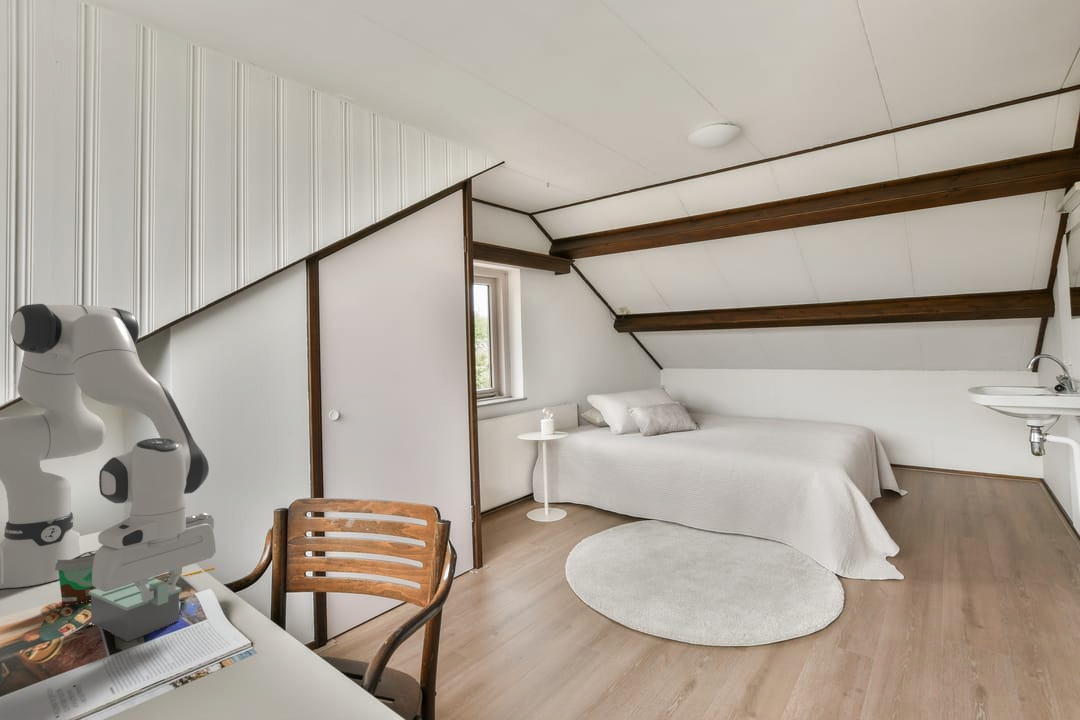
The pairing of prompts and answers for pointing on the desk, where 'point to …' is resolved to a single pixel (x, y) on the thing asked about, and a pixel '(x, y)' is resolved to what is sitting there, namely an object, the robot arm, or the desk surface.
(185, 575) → the pencil
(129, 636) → the tub
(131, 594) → the lid
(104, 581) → the robot arm
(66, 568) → the food container
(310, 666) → the desk surface
